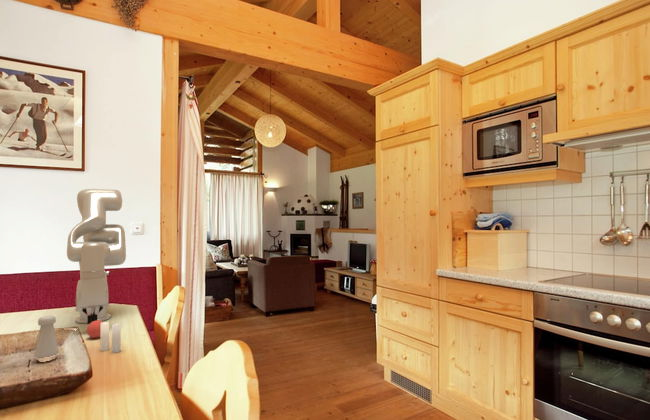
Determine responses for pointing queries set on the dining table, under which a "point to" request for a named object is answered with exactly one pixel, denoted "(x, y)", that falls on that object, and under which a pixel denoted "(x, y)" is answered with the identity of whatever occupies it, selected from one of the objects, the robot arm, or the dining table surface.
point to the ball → (94, 329)
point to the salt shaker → (46, 338)
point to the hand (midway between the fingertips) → (92, 325)
